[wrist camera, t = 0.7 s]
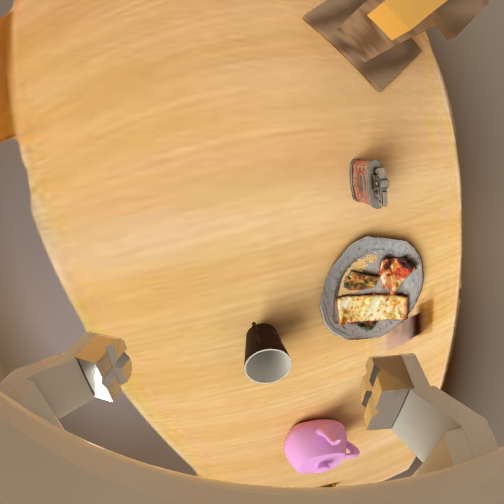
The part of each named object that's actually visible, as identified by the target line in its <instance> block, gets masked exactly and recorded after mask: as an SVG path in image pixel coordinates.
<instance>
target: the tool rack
mask: <svg viewBox="0 0 504 504" xmlns="http://www.w3.org/2000/svg"><path fill="white" fill-rule="evenodd" d="M384 1H386V0H327V1H325V2H324V3H322V4H321V5H319V6H317V7H316V8H315V9H313V10H312V11H310V12H309V13H307V14H306V15H304V17H303V18H302V19H303V20H304V21H305V22H307V23H308V24H309V25H310V26H311V27H313V28H314V29H315V30H316V31H317V32H318V33H320V34H321V35H322V36H323V37H324V38H325V39H326V40H327V41H329V42H330V43H331V44H332V45H333V46H334V47H335V48H336V49H337V50H338V51H339V52H340V53H341V54H342V55H343V56H344V57H345V58H346V59H347V60H348V61H349V62H350V63H351V64H352V65H353V66H354V67H355V68H356V69H357V70H358V71H359V72H360V73H361V74H362V75H363V76H364V77H365V78H366V80H367V81H368V82H369V83H370V84H371V85H372V86H373V87H374V88H375V90H376V91H377V92H379V91H382V90H383V89H384V88H385V87H386V86H387V85H388V84H389V83H390V82H391V81H392V80H393V79H394V78H395V77H396V76H397V75H398V74H399V73H400V72H401V71H402V70H403V69H404V68H405V67H406V66H407V65H408V64H409V63H410V62H411V61H412V60H413V59H414V58H415V57H416V56H417V55H418V54H419V53H421V52H422V50H421V49H420V48H419V47H418V45H417V44H416V43H415V42H414V41H413V40H412V38H411V37H413V36H415V35H417V34H419V33H421V32H423V31H425V30H427V29H429V28H431V27H433V26H437V27H438V28H439V29H440V31H441V32H442V33H443V34H444V36H445V37H446V38H447V39H451V38H454V37H456V36H457V35H458V34H459V33H460V32H461V31H462V30H463V28H464V27H465V26H466V25H467V24H468V23H469V22H470V21H471V20H472V19H473V18H474V17H475V16H476V15H477V14H478V13H479V12H480V11H481V10H482V9H483V8H484V7H485V6H486V5H487V3H488V1H487V0H447V1H446V2H445V3H443V4H442V5H441V6H440V7H438V8H437V9H436V10H435V11H433V12H432V13H431V14H430V15H428V16H427V17H426V18H425V19H423V20H422V21H421V22H420V23H419V24H417V25H416V26H415V27H414V28H412V29H411V30H410V31H408V32H406V33H404V34H403V35H401V36H399V37H397V38H395V39H394V40H391V39H390V38H389V37H388V36H387V35H386V34H385V33H384V32H383V31H382V30H381V29H380V28H379V27H378V26H377V25H376V24H375V23H374V22H373V21H372V20H371V19H370V18H369V17H368V16H367V15H368V14H369V13H371V12H372V11H373V10H374V9H375V8H377V7H378V6H379V5H380V4H382V3H383V2H384Z"/></svg>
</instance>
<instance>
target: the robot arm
mask: <svg viewBox="0 0 504 504" xmlns="http://www.w3.org/2000/svg"><path fill="white" fill-rule="evenodd" d="M126 349H127V347H126V345H125V342H124V340H122V339H121V338H117V337H112V336H108V335H104V334H98V333H95V332H91V331H90V332H86V333H85V334H84V335H83V336H82V337H81V338H80V339H79V340H78V341H77V342H76V343H75V344H74V345H72V346H71V347H70V348H69V349H68V350H67V351H66V352H65V353H64V354H62V353H60V354H57V355H55V356H52V357H49V358H46V359H44V360H41V361H38V362H35V363H32V364H30V365H27V366H24V367H21V368H18V369H15V370H13V371H12V372H11V373H10V374H9V375H8V376H7V377H6V378H5V379H4V380H3V381H2V382H1V383H0V504H504V446H503V447H501V448H499V447H498V445H497V442H496V440H495V438H494V436H493V434H492V431H491V429H490V427H489V425H488V423H487V421H486V419H484V418H483V417H482V416H480V415H478V414H477V413H475V412H474V411H472V410H471V409H469V408H468V407H466V406H464V405H463V404H461V403H460V402H458V401H457V400H455V399H454V398H452V397H451V396H449V395H448V394H446V393H444V392H443V391H441V390H440V389H438V388H437V387H435V386H430V385H429V383H428V380H427V378H426V376H425V374H424V372H423V370H422V368H421V366H420V364H419V362H418V359H417V357H416V355H415V354H413V353H409V354H400V355H392V356H376V357H369V359H368V360H367V364H366V370H367V374H366V375H365V376H363V379H362V383H361V391H360V395H361V403H362V405H363V406H364V407H365V408H366V409H365V412H364V420H365V426H366V430H378V429H389V428H392V429H391V430H392V431H393V432H394V433H395V434H396V435H397V436H398V437H399V438H400V439H401V440H402V441H403V442H404V443H405V444H406V445H407V446H408V448H409V449H410V450H411V451H412V452H413V453H414V454H415V455H416V456H417V457H418V458H419V459H420V460H421V461H422V462H423V464H422V465H421V466H420V467H419V469H418V470H417V471H416V472H415V473H414V475H413V476H411V477H407V478H402V479H396V480H391V481H385V482H378V483H370V484H362V485H352V486H340V487H317V488H295V487H271V486H258V485H248V484H240V483H232V482H225V481H219V480H213V479H208V478H202V477H197V476H192V475H188V474H184V473H179V472H175V471H171V470H168V469H164V468H160V467H157V466H153V465H150V464H147V463H143V462H140V461H137V460H134V459H131V458H128V457H126V456H123V455H120V454H117V453H115V452H112V451H109V450H107V449H104V448H102V447H100V446H97V445H95V444H93V443H91V442H88V441H86V440H84V439H82V438H80V437H77V436H75V435H73V434H71V433H69V432H67V431H65V430H64V429H63V426H62V425H61V423H60V422H59V421H58V419H59V418H61V417H63V416H64V415H66V414H68V413H69V412H71V411H73V410H74V409H76V408H78V407H80V406H81V405H83V404H85V403H86V402H88V401H90V400H91V399H93V398H94V396H95V397H98V398H101V399H105V400H108V401H111V402H113V401H114V400H115V398H116V397H117V395H118V394H119V393H120V391H121V385H122V384H124V383H126V382H127V381H128V379H129V378H130V376H131V372H132V363H131V360H130V358H129V356H128V355H127V354H126V353H125V351H126Z"/></svg>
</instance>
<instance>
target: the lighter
mask: <svg viewBox="0 0 504 504" xmlns="http://www.w3.org/2000/svg"><path fill="white" fill-rule="evenodd" d="M349 177H350V187H351V192H352V196H353V199H354V200H355V201H358V202H363V203H366V204H368V205H370V206H371V207H373V208H376V209H379V208H381V207H386V206H387V205H388V200H387V188H388V187H389V181H388V179H387V178H386V170H385V168H383V166H382V164H381V162H380V161H378V160H370V161H368V160H361V159H353V160H352V161H351V162H350V171H349Z"/></svg>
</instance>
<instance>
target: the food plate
mask: <svg viewBox="0 0 504 504" xmlns="http://www.w3.org/2000/svg"><path fill="white" fill-rule="evenodd" d="M383 248H384V249H383ZM378 251H379V252H378ZM373 252H378V253H381V254H378V253H377V254H375V253H374V254H375V255H377V258H378V259H377V260H374V261H373V262H374V263H369V261H365V262H366V264H368V266H366V267H365V268H366V269H363V270H362V271H363V273H362V272H357V271H353V270H351V272H350V273H349V275H348V276H346V278H345V280H344V282H345V283H344V288H347V289H348V290H352V291H353V290H361V291H360V292H356V293H353V294H352V293H349V294H346V295H342V296H341V297H340V296H339V297H338V292H339V289H340V284H341V280H342V277H343V276H344V274H345V272H346V271H347V269H348V268H350V267H351V264H352V263H354V262H357V260H358V259H359V258H360V259H362V258H363V259H364V258H366V256H365V255H367V256H368V255H370V254H372V257H373V256H374V255H373ZM385 253H387V254H385ZM378 255H379V256H378ZM380 256H382V257H380ZM379 257H380V259H379ZM367 262H368V263H367ZM375 262H376V263H375ZM364 265H365V264H364ZM361 266H362V265H361ZM360 270H361V269H360ZM423 279H424V274H423V266H422V258H421V256H420V255H419V253H418V252H417V251H416V249H415V248H414V247H413V245H412V244H410V243H409V242H407V241H405V240H404V241H403V240H395V239H387V238H379V237H377V238H375V237H372V236H366V237H363V238H362V239H359V240H357V241H355V242H354V243H352V244H351V245H350V246H348V248H347V249H346V250H345V251H344V252H343V254H342V256H341V257H340V258H339V259H338V260H337V261H336V262H335V264H334V265H333V267H332V269H331V270H330V272H329V274H328V277H327V278H326V281H325V285H324V288H323V289H324V290H323V294H322V298H321V304H320V311H321V313H322V315H323V317H322V318H323V321H324V322H325V325H326V326H327V328H328V329H329V330H330V331H331V332H332V333H334V334H335V335H338V336H340V337H341V338H344V339H345V338H346V339H347V340H357V339H369V338H372V337H374V338H375V337H376V338H377V337H380V336H382V335H384V334H386V333H388V332H389V331H391V330H392V329H393V328H395V327H396V326H397V325H398V324H400V323H402V322H403V320H407V319H408V316H407V315H408V314H409V312H410V311H411V310H412V309H413V307H414V305H415V303H416V302H417V299H418V297H419V295H420V292H421V289H422V285H423ZM361 292H362V293H361Z"/></svg>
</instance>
